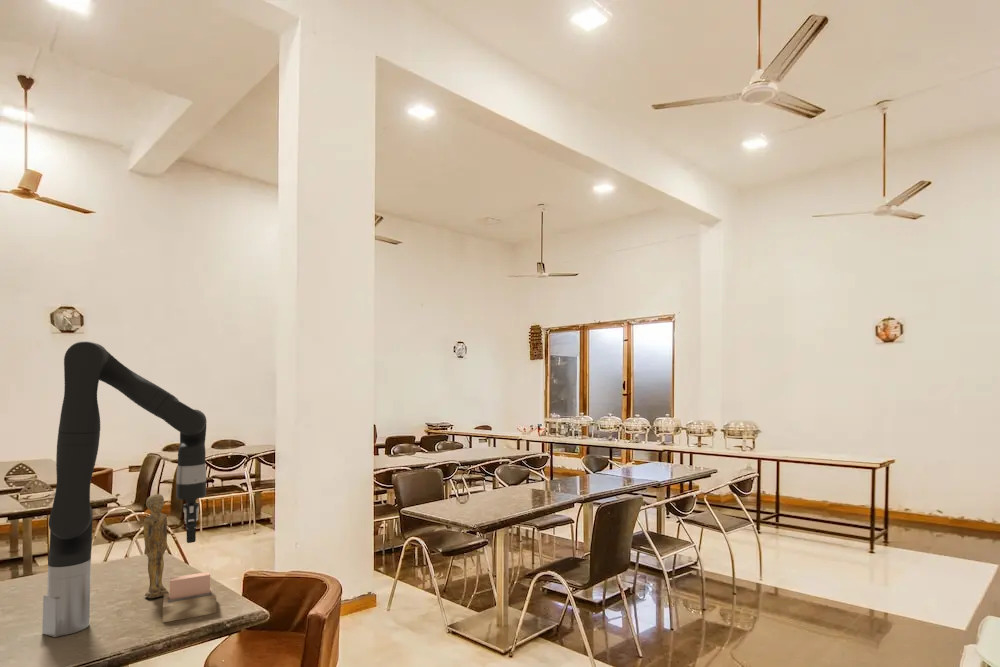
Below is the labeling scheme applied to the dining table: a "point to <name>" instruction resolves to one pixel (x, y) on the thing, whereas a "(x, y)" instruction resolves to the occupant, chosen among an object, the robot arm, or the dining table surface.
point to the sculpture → (155, 544)
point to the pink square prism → (189, 585)
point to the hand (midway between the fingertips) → (190, 538)
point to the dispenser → (189, 606)
